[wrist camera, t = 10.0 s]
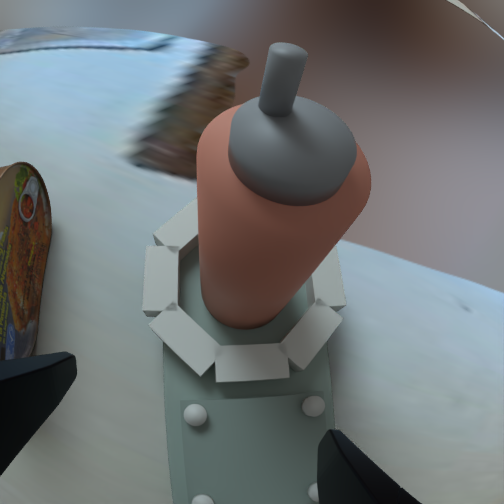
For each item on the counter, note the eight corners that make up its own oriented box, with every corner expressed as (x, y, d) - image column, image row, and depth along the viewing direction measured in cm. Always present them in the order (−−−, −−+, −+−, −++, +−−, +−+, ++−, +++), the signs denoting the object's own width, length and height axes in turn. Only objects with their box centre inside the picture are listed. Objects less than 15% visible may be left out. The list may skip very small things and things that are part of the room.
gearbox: (335, 488, 17) (365, 506, 13) (164, 504, 16) (154, 530, 11) (307, 226, 26) (327, 192, 22) (159, 225, 24) (151, 188, 20)
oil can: (301, 307, 20) (453, 138, 6) (223, 344, 18) (271, 192, 5) (262, 236, 22) (333, 27, 8) (187, 266, 20) (168, 40, 7)
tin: (35, 379, 18) (-34, 364, 10) (5, 373, 17) (-66, 355, 10) (60, 202, 24) (24, 136, 16) (32, 204, 24) (-8, 142, 16)
